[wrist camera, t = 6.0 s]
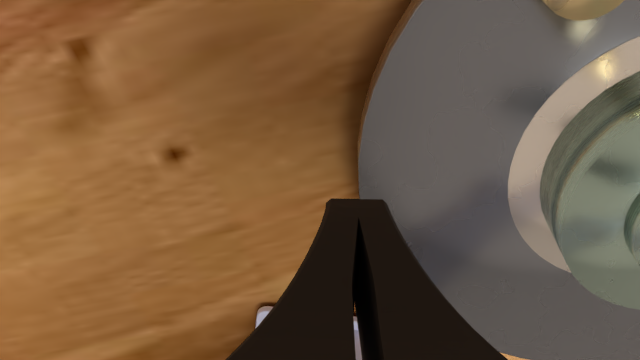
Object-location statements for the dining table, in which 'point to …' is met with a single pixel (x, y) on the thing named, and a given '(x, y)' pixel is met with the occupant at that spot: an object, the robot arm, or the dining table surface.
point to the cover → (599, 194)
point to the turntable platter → (496, 160)
